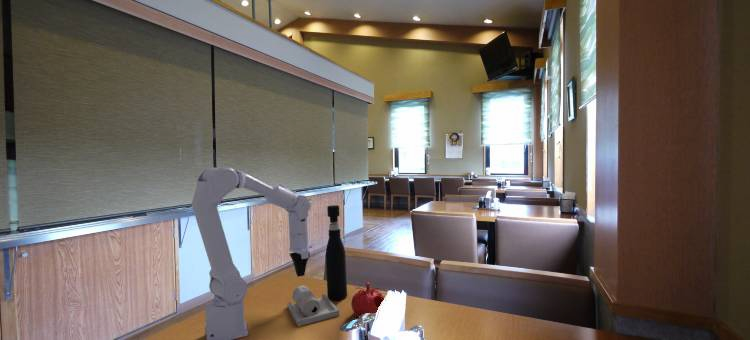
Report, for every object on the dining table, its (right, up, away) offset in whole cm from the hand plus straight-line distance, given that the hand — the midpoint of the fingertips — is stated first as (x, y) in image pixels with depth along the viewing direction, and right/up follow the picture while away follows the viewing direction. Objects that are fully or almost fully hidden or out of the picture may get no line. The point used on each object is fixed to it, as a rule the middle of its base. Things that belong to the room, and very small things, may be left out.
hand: (300, 275), depth 101 cm
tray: (+5, -9, -5) cm, 11 cm away
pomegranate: (+22, -9, -9) cm, 25 cm away
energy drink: (0, -6, +1) cm, 6 cm away
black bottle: (+11, -9, +4) cm, 15 cm away
